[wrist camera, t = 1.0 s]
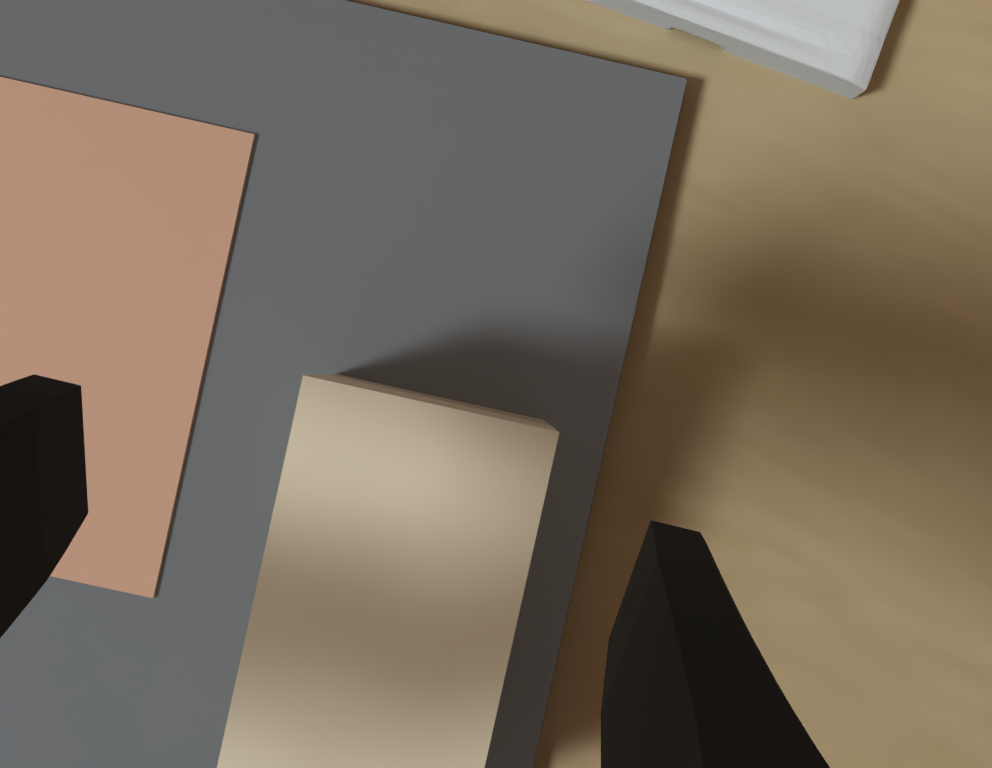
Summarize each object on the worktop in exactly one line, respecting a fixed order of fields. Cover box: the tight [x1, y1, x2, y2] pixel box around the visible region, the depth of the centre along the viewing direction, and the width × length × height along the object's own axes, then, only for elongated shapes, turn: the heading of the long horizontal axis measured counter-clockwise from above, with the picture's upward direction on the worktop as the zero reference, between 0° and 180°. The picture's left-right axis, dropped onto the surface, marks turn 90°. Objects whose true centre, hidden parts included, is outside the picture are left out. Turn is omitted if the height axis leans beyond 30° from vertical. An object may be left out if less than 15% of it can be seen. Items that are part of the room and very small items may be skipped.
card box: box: [217, 374, 559, 768], centre depth 20 cm, size 9×5×4 cm, turn 167°
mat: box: [0, 0, 687, 768], centre depth 22 cm, size 20×22×1 cm
